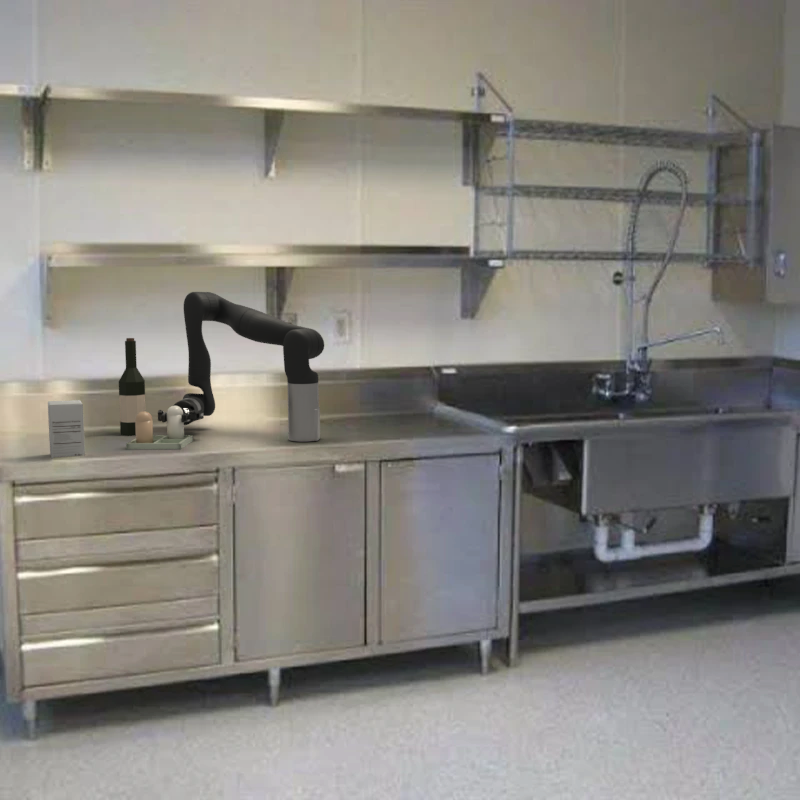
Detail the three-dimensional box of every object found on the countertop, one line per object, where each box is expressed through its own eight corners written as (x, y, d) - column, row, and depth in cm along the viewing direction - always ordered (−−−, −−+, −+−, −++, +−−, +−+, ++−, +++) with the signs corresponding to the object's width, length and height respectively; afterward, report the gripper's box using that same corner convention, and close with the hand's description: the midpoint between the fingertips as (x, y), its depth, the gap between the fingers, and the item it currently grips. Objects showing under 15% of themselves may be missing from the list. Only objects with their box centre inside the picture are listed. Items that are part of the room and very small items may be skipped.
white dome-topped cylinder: (186, 438, 306) (184, 404, 305) (182, 441, 302) (180, 406, 300) (169, 439, 307) (168, 404, 305) (165, 441, 302) (164, 406, 301)
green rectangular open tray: (193, 442, 308) (192, 435, 308) (180, 451, 293) (180, 443, 293) (141, 442, 309) (141, 435, 308) (126, 451, 293) (126, 443, 293)
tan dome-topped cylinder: (155, 445, 300) (154, 410, 298) (150, 448, 295) (149, 412, 294) (138, 445, 300) (137, 410, 298) (134, 448, 295) (132, 412, 294)
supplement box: (49, 454, 289) (47, 400, 287) (83, 452, 292) (81, 399, 290) (50, 459, 281) (48, 404, 279) (85, 457, 284) (83, 402, 282)
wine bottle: (124, 436, 320) (121, 339, 317) (116, 433, 327) (112, 338, 324) (151, 434, 325) (147, 338, 321) (141, 431, 332) (138, 337, 328)
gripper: (162, 399, 317) (147, 406, 300) (209, 398, 317) (197, 405, 300) (163, 423, 318) (148, 431, 301) (210, 423, 318) (197, 431, 301)
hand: (173, 418), depth 301 cm, fingers open, 5 cm apart
